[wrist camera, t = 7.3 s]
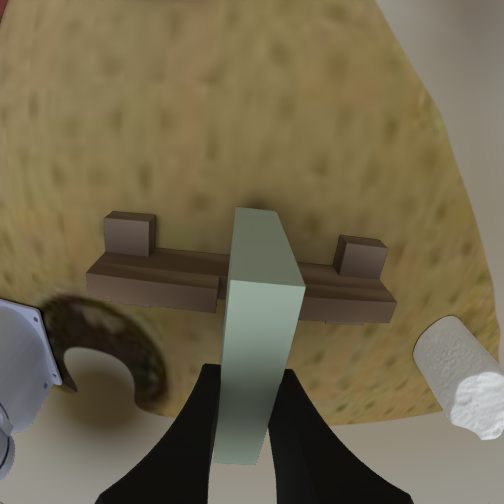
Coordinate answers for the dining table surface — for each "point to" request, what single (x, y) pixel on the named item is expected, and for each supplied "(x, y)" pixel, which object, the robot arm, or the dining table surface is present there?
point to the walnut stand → (216, 276)
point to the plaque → (2, 7)
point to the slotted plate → (255, 332)
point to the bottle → (462, 377)
